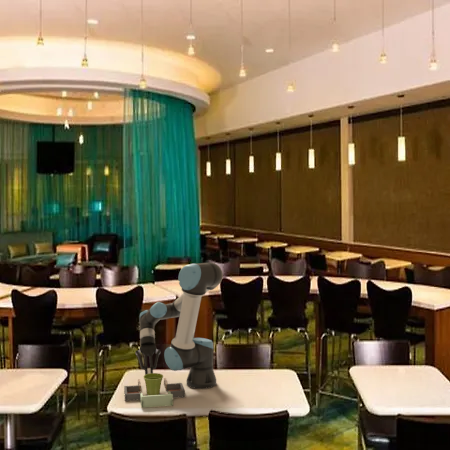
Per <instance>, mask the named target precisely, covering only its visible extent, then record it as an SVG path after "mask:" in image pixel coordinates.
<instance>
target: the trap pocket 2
mask: <svg viewBox="0 0 450 450" xmlns="http://www.w3.org/2000/svg"><path fill="white" fill-rule="evenodd" d="M166 391H167V392H168V391H170V392H171V394H173V399H176V398H178V399H179V398H180V399H181V398H186V390H185V387H184V385H183V383H182V382H175V383H168V384H167V390H166Z"/></svg>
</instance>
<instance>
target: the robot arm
mask: <svg viewBox="0 0 450 450" xmlns="http://www.w3.org/2000/svg"><path fill="white" fill-rule="evenodd" d="M223 277H224V273H223V270H222V269H221V266H219V265H218V264H217V263H214V262H202V263H201V262H200V263H190V264H186V265H184V266H183V267H181V269H180V271H179V273H178V282H179V283H178V284H179V287H180V289H181V291H182V293H181V295H180V296H178V297H177V299H175V300H174V301H173V302H172V303H167V304H166V303H164V302H160V301H157V302H156V303H154V304H153V305H151V306H150V308H149V309H146V310H143V311H142V312H140V313H139V320H138V323H139V339H140V340H139V341H140V342H139V343H140V345H139V346H140V347H139V349H138V350H137V349H136V350H135V355H136V357H137V359H138V364H139V366H140V369H141V370H144V375H146V374H150V373H154V370H156V369H157V365H158V360H159V357H160V355H161V353H162V351H161V349H157V346H156V339H155V338H156V335H155V334H156V332H155V326H156V325H157V323H158V322H159V321H160V320H161V321H162V320H168V319H173V318H178V323H177V327H176V333H175V337H174V338H172V340H171V343H170V346H168V347H166V348H165V350H164V353H163V354H164V355H163V356H164V357H163V358H164V361H165V363H166V365H167V367H168V368H169V369H170V370H172V371H174V372H176V371H177V372H178V371H183V370H185V369H189V372H188V374H187V378H186V386H188V387H189V388H192V389H200V390H201V389H202V390H203V389H211V388H214V387H216V385H217V378H216V375H215V370H214V342H213V340H212V339H208V338H204V337H195V332H196V328H197V327H196V326H197V321H198V317H199V312H200V306H201V302H202V297H203V296H205V295H206V294H207V293H208V292H209V291H214V289H216V288H217V287H218V286H219V285H220V284H221V283H222V282H223V281H222V280H223ZM154 353H155V358H154V363H153V355H154ZM141 354H142V355H143V358H144V363H143V359H142V356H141ZM148 357H149V367H148Z"/></svg>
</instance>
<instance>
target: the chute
mask: <svg viewBox="0 0 450 450" xmlns="http://www.w3.org/2000/svg"><path fill="white" fill-rule="evenodd" d="M167 384H169V383H168V380H167V378H166V377H163V386H164V388H165V391H168V390H167ZM137 385H140V386H139V393H142V382H141V379H137Z"/></svg>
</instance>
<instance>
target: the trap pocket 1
mask: <svg viewBox="0 0 450 450" xmlns="http://www.w3.org/2000/svg"><path fill="white" fill-rule="evenodd" d="M139 386H140V385H138V384H136V385H123V388H124V389H123V390H124V391H123V392H124V393H123V394H125V395H124V401H125V402H128V401H130V400H131V401H140V394H141V393H142V392H139Z"/></svg>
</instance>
